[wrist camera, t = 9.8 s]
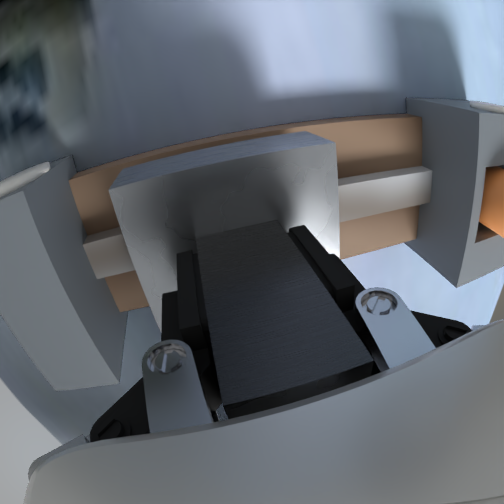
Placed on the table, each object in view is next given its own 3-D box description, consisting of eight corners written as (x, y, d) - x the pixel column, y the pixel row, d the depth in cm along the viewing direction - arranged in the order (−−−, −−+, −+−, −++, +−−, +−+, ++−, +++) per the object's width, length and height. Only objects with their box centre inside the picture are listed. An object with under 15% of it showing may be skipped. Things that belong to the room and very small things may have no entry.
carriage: (316, 280, 17) (413, 432, 9) (170, 315, 16) (185, 500, 8) (305, 130, 13) (489, 219, 5) (122, 169, 12) (31, 334, 4)
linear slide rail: (458, 225, 22) (510, 262, 17) (75, 320, 19) (55, 391, 13) (466, 96, 17) (533, 112, 12) (11, 173, 13) (-48, 214, 8)
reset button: (486, 208, 17) (528, 234, 14) (452, 217, 17) (498, 248, 13) (492, 156, 15) (539, 178, 12) (458, 160, 15) (510, 184, 11)
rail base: (460, 214, 21) (481, 228, 19) (68, 309, 18) (59, 334, 16) (467, 113, 17) (492, 120, 15) (18, 194, 14) (-2, 210, 12)
